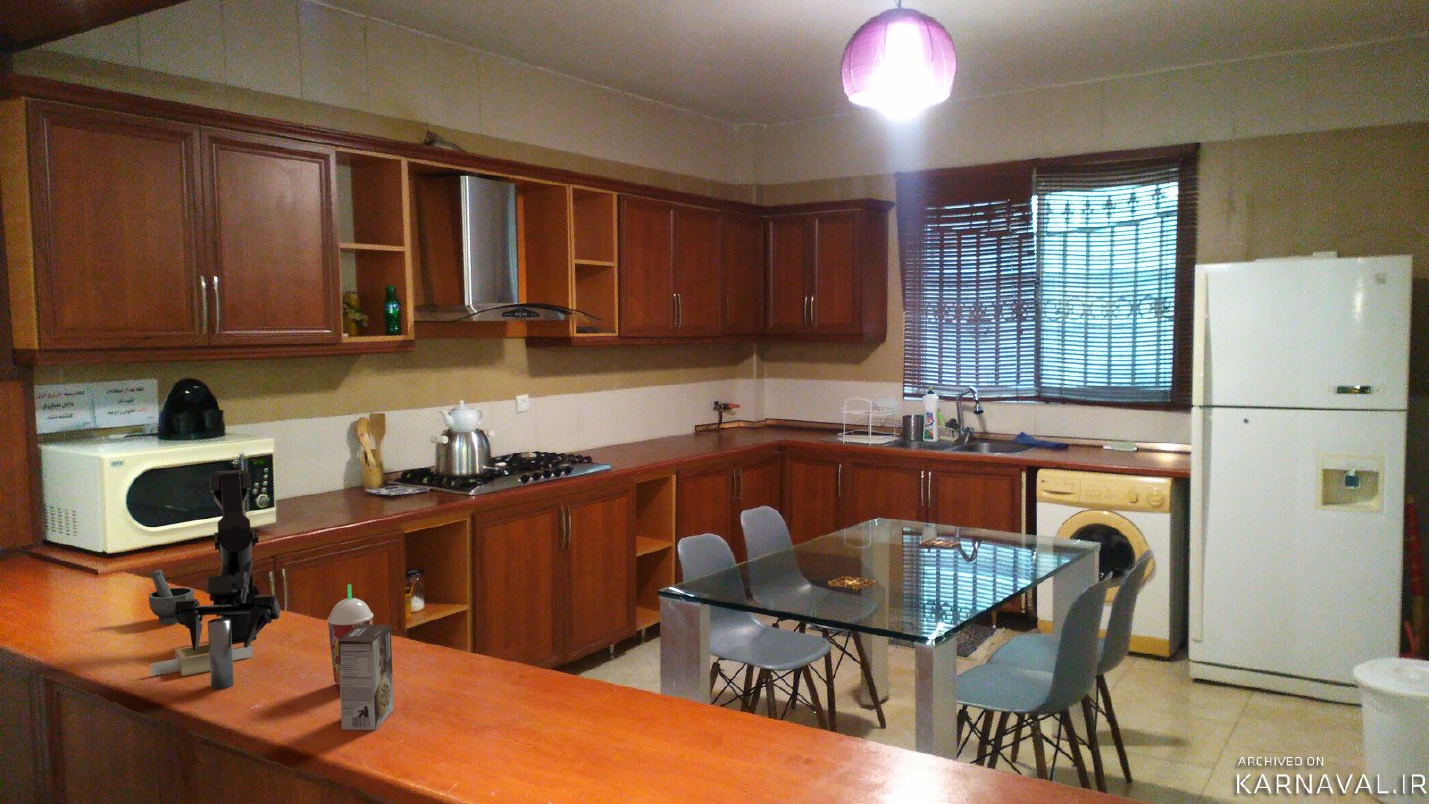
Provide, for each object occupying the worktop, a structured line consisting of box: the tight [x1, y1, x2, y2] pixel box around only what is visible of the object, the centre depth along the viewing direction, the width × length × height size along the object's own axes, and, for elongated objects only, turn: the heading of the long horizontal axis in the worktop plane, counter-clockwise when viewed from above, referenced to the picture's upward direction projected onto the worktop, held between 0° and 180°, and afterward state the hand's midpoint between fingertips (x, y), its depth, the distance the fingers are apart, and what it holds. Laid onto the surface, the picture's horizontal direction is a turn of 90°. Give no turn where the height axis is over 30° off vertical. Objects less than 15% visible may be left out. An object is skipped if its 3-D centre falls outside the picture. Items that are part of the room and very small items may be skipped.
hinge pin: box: [207, 617, 235, 690], centre depth 191 cm, size 4×4×13 cm
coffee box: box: [338, 624, 395, 731], centre depth 173 cm, size 9×6×16 cm
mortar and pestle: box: [148, 569, 195, 626], centre depth 233 cm, size 11×9×12 cm
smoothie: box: [326, 584, 374, 689], centre depth 190 cm, size 8×8×20 cm
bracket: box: [149, 642, 254, 677], centre depth 202 cm, size 19×8×4 cm, turn 127°
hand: (220, 648), depth 190 cm, fingers open, 9 cm apart
